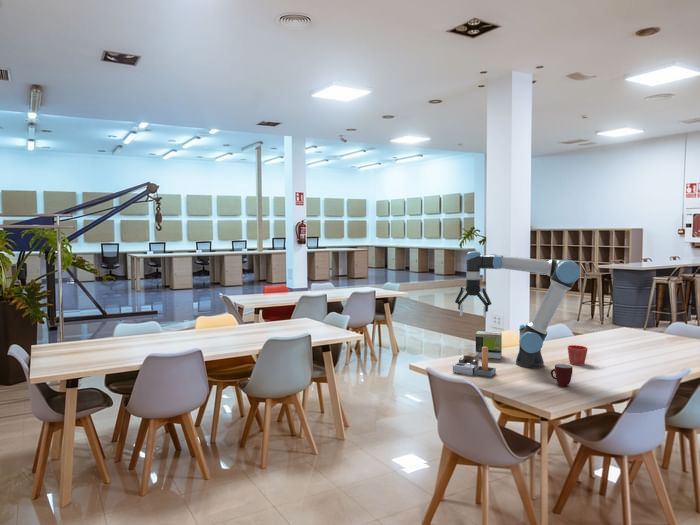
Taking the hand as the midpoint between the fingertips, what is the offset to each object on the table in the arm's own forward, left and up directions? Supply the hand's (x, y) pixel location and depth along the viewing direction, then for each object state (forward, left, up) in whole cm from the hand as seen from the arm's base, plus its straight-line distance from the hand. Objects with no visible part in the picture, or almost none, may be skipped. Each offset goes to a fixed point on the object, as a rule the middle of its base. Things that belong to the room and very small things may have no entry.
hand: (472, 316), depth 293 cm
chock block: (0, +2, -28) cm, 28 cm away
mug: (-49, +15, -29) cm, 59 cm away
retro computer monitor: (-1, -28, -29) cm, 40 cm away
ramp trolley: (-1, +13, -28) cm, 31 cm away
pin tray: (-11, +14, -28) cm, 34 cm away
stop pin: (-11, +14, -28) cm, 33 cm away
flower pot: (-50, -37, -29) cm, 69 cm away
